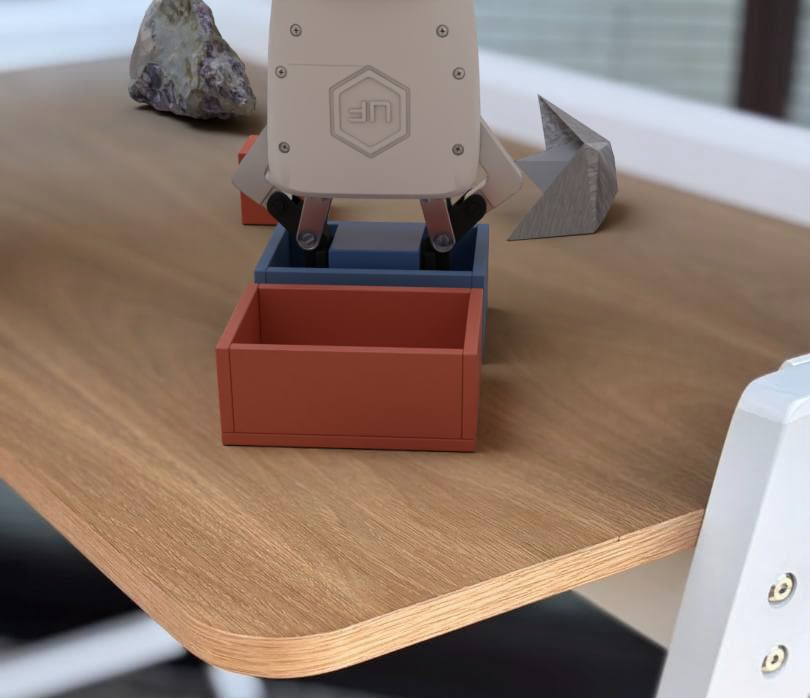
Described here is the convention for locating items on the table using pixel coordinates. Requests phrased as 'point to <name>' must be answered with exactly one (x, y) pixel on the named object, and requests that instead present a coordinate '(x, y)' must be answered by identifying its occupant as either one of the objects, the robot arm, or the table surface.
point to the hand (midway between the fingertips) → (379, 314)
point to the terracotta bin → (352, 367)
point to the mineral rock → (187, 64)
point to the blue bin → (467, 269)
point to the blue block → (377, 246)
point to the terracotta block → (250, 208)
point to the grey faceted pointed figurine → (568, 178)
